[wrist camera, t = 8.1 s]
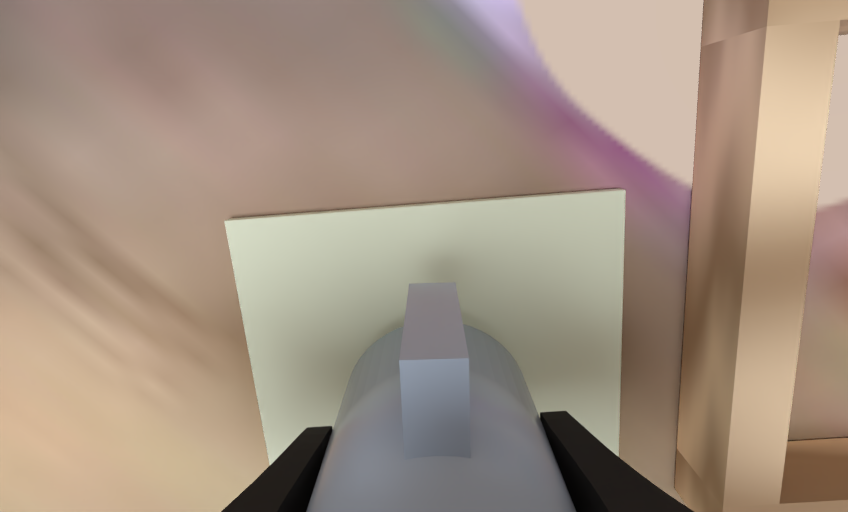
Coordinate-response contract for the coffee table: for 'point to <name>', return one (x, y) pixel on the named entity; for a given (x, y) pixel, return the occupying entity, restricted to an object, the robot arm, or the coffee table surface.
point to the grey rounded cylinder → (438, 424)
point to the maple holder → (755, 258)
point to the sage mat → (435, 263)
